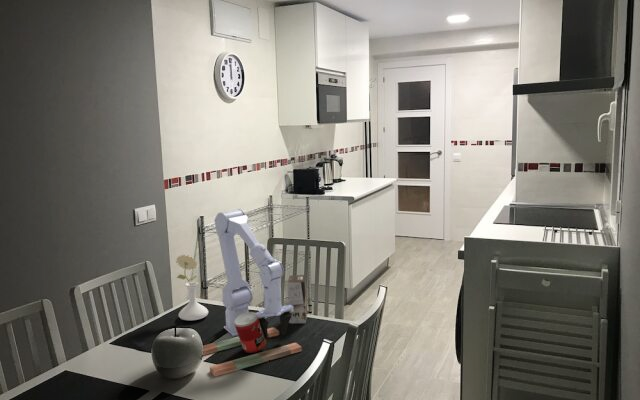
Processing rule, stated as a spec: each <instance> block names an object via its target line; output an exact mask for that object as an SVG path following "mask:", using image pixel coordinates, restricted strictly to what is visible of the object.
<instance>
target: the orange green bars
mask: <svg viewBox="0 0 640 400" xmlns="http://www.w3.org/2000/svg"><path fill="white" fill-rule="evenodd" d="M267 334H268V338H273V337H277V336H280V330H278V329H277V328H276V327H269V328H267ZM202 346H203V356H205V355H210V354H213V353H218V352H220V351H224V350H229V349H231V348H235V347H240V346H242V344H241V341H240V338H239V336H238V335H237V336H236V337H235V336H233V337H231V338H227V339H223V340H220V341H215V342H212V343H207V344H205V345H204V344H203V345H202ZM302 349H303V348H302V346H301V345H300V344H298V343H297V342H292V343H289V344H287V345H286V344H285V345H282V346H279V347H275V348H271V349H268V350H265V351H261V352H260V351H259V352H256V353H254V354H253V353H252V354H250V355H247V356H243V357H240V358H236V359H233V360H229V361H225V362H222V363H218V364H215V365H211V366H209V372H210V373H211V374H212V375H213V376H214V377H219V376H222V375H226V374H229V373H233V372H235V371H238V370H239V371H240V370H241V369H247V368H248V367H252V366H256V365H259V364H262V363H266V362H269V360H270V361H273V360H275V359H280V358H282V357H287V356H289V355H292V354H293V355H294V354H297V353H299V352H302Z"/></svg>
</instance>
